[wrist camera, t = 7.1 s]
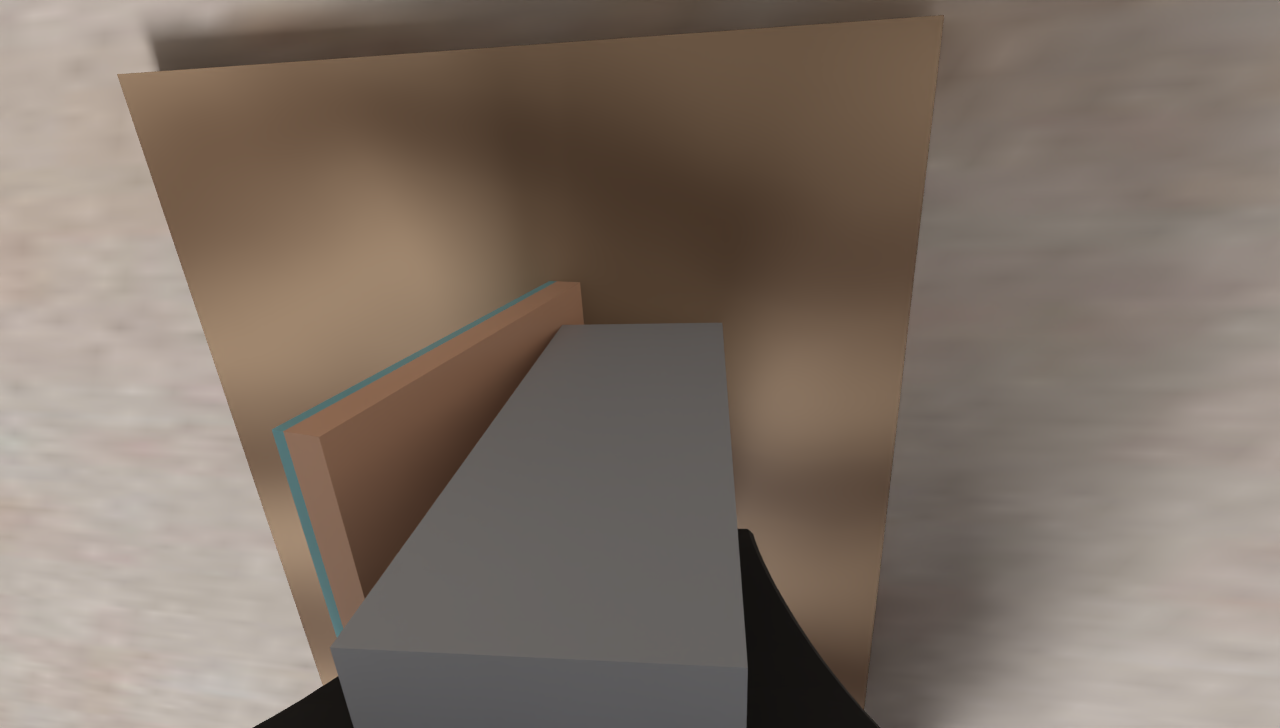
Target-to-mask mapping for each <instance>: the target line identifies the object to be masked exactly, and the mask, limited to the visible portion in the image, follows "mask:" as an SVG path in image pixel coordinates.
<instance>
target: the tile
mask: <svg viewBox="0 0 1280 728" xmlns="http://www.w3.org/2000/svg"><path fill="white" fill-rule="evenodd" d="M562 325H584V319H583V308H582V297H581V286H580V282H562V281H548V282H547V283H545V284H543V285H541V286H539V287H537V288H535V289H533V290H532V291H530V292H528V293H526V294H524V295H522V296H520V297H519V298H517V299H515V300H513V301H511V302H509V303H507V304H505V305H504V306H502V307H500V308H498V309H496V310H494V311H492V312H490V313H489V314H487V315H485V316H483V317H481V318H479V319H477V320H476V321H474V322H472V323H470V324H468V325H466V326H464V327H462V328H461V329H459V330H457V331H455V332H453V333H451V334H449V335H447V336H446V337H444V338H442V339H440V340H438V341H436V342H434V343H433V344H431V345H429V346H427V347H425V348H423V349H421V350H419V351H418V352H416V353H414V354H412V355H410V356H408V357H406V358H404V359H403V360H401V361H399V362H397V363H395V364H393V365H391V366H390V367H388V368H386V369H384V370H382V371H380V372H378V373H376V374H375V375H373V376H371V377H369V378H367V379H365V380H363V381H361V382H360V383H358V384H356V385H354V386H352V387H350V388H348V389H347V390H345V391H343V392H341V393H339V394H337V395H335V396H333V397H332V398H330V399H328V400H326V401H324V402H322V403H320V404H318V405H317V406H315V407H313V408H311V409H309V410H307V411H305V412H304V413H302V414H300V415H298V416H296V417H294V418H292V419H290V420H289V421H287V422H285V423H283V424H281V425H279V426H277V427H275V428H274V429H272V433H273V436H274V439H275V442H276V445H277V448H278V452H279V455H280V458H281V461H282V464H283V468H284V471H285V474H286V477H287V480H288V484H289V487H290V490H291V493H292V496H293V500H294V503H295V506H296V509H297V512H298V516H299V519H300V522H301V525H302V528H303V532H304V535H305V538H306V541H307V544H308V548H309V551H310V554H311V557H312V560H313V564H314V567H315V570H316V573H317V576H318V579H319V583H320V586H321V589H322V592H323V595H324V599H325V602H326V605H327V608H328V611H329V615H330V618H331V621H332V624H333V627H334V631H335V634H336V637H338V636H339V634H340V633H341V631H342V630H343V629H344V627H345V626H346V625H347V623H348V622H349V620H350V619H351V618H352V616H353V615H354V613H355V612H356V611H357V609H358V608H359V606H360V605H361V604H362V602H363V601H364V600H365V598H366V597H367V595H368V594H369V593H370V591H371V590H372V588H373V587H374V586H375V584H376V583H377V581H378V580H379V579H380V577H381V576H382V575H383V573H384V572H385V570H386V569H387V568H388V566H389V565H390V563H391V562H392V561H393V559H394V558H395V556H396V555H397V554H398V552H399V551H400V550H401V548H402V547H403V545H404V544H405V543H406V541H407V540H408V538H409V537H410V536H411V534H412V533H413V531H414V530H415V529H416V527H417V526H418V525H419V523H420V522H421V520H422V519H423V518H424V516H425V515H426V513H427V512H428V511H429V509H430V508H431V506H432V505H433V504H434V502H435V501H436V500H437V498H438V497H439V495H440V494H441V493H442V491H443V490H444V488H445V487H446V486H447V484H448V483H449V481H450V480H451V479H452V477H453V476H454V475H455V473H456V472H457V470H458V469H459V468H460V466H461V465H462V463H463V462H464V461H465V459H466V458H467V456H468V455H469V454H470V452H471V451H472V450H473V448H474V447H475V445H476V444H477V443H478V441H479V440H480V438H481V437H482V436H483V434H484V433H485V431H486V430H487V429H488V427H489V426H490V425H491V423H492V422H493V420H494V419H495V418H496V416H497V415H498V413H499V412H500V411H501V409H502V408H503V406H504V405H505V404H506V402H507V401H508V400H509V398H510V397H511V395H512V394H513V393H514V391H515V390H516V388H517V387H518V386H519V384H520V383H521V381H522V380H523V379H524V377H525V376H526V375H527V373H528V372H529V370H530V369H531V368H532V366H533V365H534V363H535V362H536V361H537V359H538V358H539V356H540V355H541V354H542V352H543V351H544V350H545V348H546V347H547V345H548V344H549V343H550V341H551V340H552V338H553V337H554V336H555V334H556V333H557V331H558V330H559V329H560V327H561V326H562Z"/></svg>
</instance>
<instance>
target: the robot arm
mask: <svg viewBox="0 0 1280 728" xmlns="http://www.w3.org/2000/svg"><path fill="white" fill-rule="evenodd" d="M738 542H739V556H740V569H741V583H742V596H743V610H744V623H745V637H746V650H747V664H748V682H747V727H746V728H880V727H879V726H878V725H877V724H876V723H875V722H874V721H873V720H872V719H871V718H870V717H869V715H868V714H867V713H866V712H865V711H864V710H863V709H862V707H861V706H860V705H859V704H858V703H857V701H856V700H855V699H854V698H853V697H852V695H851V694H850V693H849V692H848V691H847V690H846V688H845V687H844V686H843V685H842V683H841V682H840V681H839V679H838V678H837V677H836V676H835V674H834V673H833V672H832V671H831V669H830V668H829V667H828V665H827V664H826V663H825V661H824V660H823V659H822V657H821V656H820V654H819V653H818V652H817V650H816V649H815V647H814V646H813V644H812V643H811V642H810V640H809V639H808V637H807V636H806V634H805V633H804V631H803V630H802V628H801V627H800V625H799V623H798V622H797V620H796V619H795V617H794V615H793V614H792V612H791V611H790V609H789V607H788V605H787V604H786V602H785V600H784V599H783V597H782V595H781V593H780V592H779V590H778V588H777V586H776V584H775V583H774V581H773V579H772V577H771V575H770V573H769V571H768V569H767V567H766V565H765V563H764V561H763V558H762V556H761V554H760V551H759V549H758V546H757V544H756V541H755V538H754V534H753V533H752V532H751V531H750V530H749V529H738ZM253 728H354V727H353V723H352V720H351V717H350V713H349V710H348V707H347V703H346V700H345V697H344V693H343V690H342V687H341V683H340V680H339V677H338V676H337V677H336V678H334V679H333V680H331V681H330V682H328V683H327V684H325V685H324V686H322V687H321V688H319V689H317V690H316V691H314V692H313V693H311V694H310V695H308V696H307V697H305V698H304V699H302V700H300V701H299V702H297V703H295V704H294V705H292V706H290V707H288V708H287V709H285V710H283V711H282V712H280V713H278V714H276V715H275V716H273V717H271V718H269V719H268V720H266V721H264V722H262V723H260V724H259V725H257V726H255V727H253Z"/></svg>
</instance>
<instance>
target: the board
mask: <svg viewBox="0 0 1280 728" xmlns="http://www.w3.org/2000/svg"><path fill="white" fill-rule="evenodd" d="M943 21H944V15H938V16H924V17H910V18H896V19H882V20H868V21H854V22H840V23H826V24H812V25H799V26H785V27H771V28H757V29H743V30H729V31H715V32H701V33H687V34H673V35H659V36H645V37H631V38H617V39H603V40H590V41H576V42H562V43H548V44H534V45H520V46H506V47H492V48H478V49H464V50H450V51H436V52H422V53H408V54H394V55H380V56H367V57H353V58H339V59H325V60H311V61H297V62H283V63H269V64H255V65H241V66H227V67H213V68H199V69H185V70H171V71H157V72H144V73H130V74H117V75H118V78H119V81H120V84H121V87H122V90H123V93H124V96H125V99H126V102H127V105H128V108H129V111H130V114H131V117H132V120H133V123H134V126H135V129H136V132H137V135H138V138H139V141H140V144H141V147H142V150H143V153H144V156H145V158H146V161H147V164H148V167H149V170H150V173H151V176H152V179H153V182H154V185H155V188H156V191H157V194H158V197H159V200H160V203H161V206H162V209H163V212H164V215H165V218H166V221H167V224H168V227H169V230H170V233H171V236H172V239H173V242H174V245H175V248H176V251H177V253H178V256H179V259H180V262H181V265H182V268H183V271H184V274H185V277H186V280H187V283H188V286H189V289H190V292H191V295H192V298H193V301H194V304H195V307H196V310H197V313H198V316H199V319H200V322H201V325H202V328H203V331H204V334H205V337H206V340H207V343H208V346H209V348H210V351H211V354H212V357H213V360H214V363H215V366H216V369H217V372H218V375H219V378H220V381H221V384H222V387H223V390H224V393H225V396H226V399H227V402H228V405H229V408H230V411H231V414H232V417H233V420H234V423H235V426H236V429H237V432H238V435H239V438H240V441H241V443H242V446H243V449H244V452H245V455H246V458H247V461H248V464H249V467H250V470H251V473H252V476H253V479H254V482H255V485H256V488H257V491H258V494H259V497H260V500H261V503H262V506H263V509H264V512H265V515H266V518H267V521H268V524H269V527H270V530H271V533H272V536H273V539H274V541H275V544H276V547H277V550H278V553H279V556H280V559H281V562H282V565H283V568H284V571H285V574H286V577H287V580H288V583H289V586H290V589H291V592H292V595H293V598H294V601H295V604H296V607H297V610H298V613H299V616H300V619H301V622H302V625H303V628H304V631H305V634H306V636H307V639H308V642H309V645H310V648H311V651H312V654H313V657H314V660H315V663H316V666H317V669H318V672H319V675H320V678H321V681H322V684H323V686H324V685H325V684H327V683H328V682H330V681H331V680H333V679H334V678H336V677H337V676H338V673H337V670H336V667H335V663H334V660H333V657H332V653H331V650H330V647H331V645H332V644H333V643H334V641H335V640H336V638H337V637H336V634H335V631H334V627H333V624H332V621H331V618H330V615H329V611H328V608H327V605H326V602H325V599H324V595H323V592H322V589H321V586H320V583H319V579H318V576H317V573H316V570H315V567H314V564H313V560H312V557H311V554H310V551H309V548H308V544H307V541H306V538H305V535H304V532H303V528H302V525H301V522H300V519H299V516H298V512H297V509H296V506H295V503H294V500H293V496H292V493H291V490H290V487H289V484H288V480H287V477H286V474H285V471H284V468H283V464H282V461H281V458H280V455H279V452H278V448H277V445H276V442H275V439H274V436H273V433H272V429H274V428H275V427H277V426H279V425H281V424H283V423H285V422H287V421H289V420H290V419H292V418H294V417H296V416H298V415H300V414H302V413H304V412H305V411H307V410H309V409H311V408H313V407H315V406H317V405H318V404H320V403H322V402H324V401H326V400H328V399H330V398H332V397H333V396H335V395H337V394H339V393H341V392H343V391H345V390H347V389H348V388H350V387H352V386H354V385H356V384H358V383H360V382H361V381H363V380H365V379H367V378H369V377H371V376H373V375H375V374H376V373H378V372H380V371H382V370H384V369H386V368H388V367H390V366H391V365H393V364H395V363H397V362H399V361H401V360H403V359H404V358H406V357H408V356H410V355H412V354H414V353H416V352H418V351H419V350H421V349H423V348H425V347H427V346H429V345H431V344H433V343H434V342H436V341H438V340H440V339H442V338H444V337H446V336H447V335H449V334H451V333H453V332H455V331H457V330H459V329H461V328H462V327H464V326H466V325H468V324H470V323H472V322H474V321H476V320H477V319H479V318H481V317H483V316H485V315H487V314H489V313H490V312H492V311H494V310H496V309H498V308H500V307H502V306H504V305H505V304H507V303H509V302H511V301H513V300H515V299H517V298H519V297H520V296H522V295H524V294H526V293H528V292H530V291H532V290H533V289H535V288H537V287H539V286H541V285H543V284H545V283H547V282H548V281H562V282H580V286H581V297H582V308H583V319H584V325H591V324H663V323H722V326H723V339H724V353H725V366H726V380H727V393H728V407H729V421H730V434H731V448H732V461H733V475H734V488H735V502H736V515H737V529H749V530H750V531H751V532H752V533H753V534H754V538H755V541H756V544H757V546H758V549H759V551H760V554H761V556H762V558H763V561H764V563H765V565H766V567H767V569H768V571H769V573H770V575H771V577H772V579H773V581H774V583H775V584H776V586H777V588H778V590H779V592H780V593H781V595H782V597H783V599H784V600H785V602H786V604H787V605H788V607H789V609H790V611H791V612H792V614H793V615H794V617H795V619H796V620H797V622H798V623H799V625H800V627H801V628H802V630H803V631H804V633H805V634H806V636H807V637H808V639H809V640H810V642H811V643H812V644H813V646H814V647H815V649H816V650H817V652H818V653H819V654H820V656H821V657H822V659H823V660H824V661H825V663H826V664H827V665H828V667H829V668H830V669H831V671H832V672H833V673H834V674H835V676H836V677H837V678H838V679H839V681H840V682H841V683H842V685H843V686H844V687H845V688H846V690H847V691H848V692H849V693H850V694H851V695H852V697H853V698H854V699H855V700H856V701H857V703H858V704H859V705H860V706H861V707H862V709H863V710H864V705H865V696H866V687H867V679H868V670H869V661H870V653H871V644H872V635H873V627H874V618H875V610H876V601H877V592H878V584H879V575H880V566H881V558H882V549H883V540H884V532H885V523H886V514H887V506H888V497H889V488H890V480H891V471H892V462H893V454H894V445H895V436H896V428H897V419H898V410H899V402H900V393H901V384H902V376H903V367H904V358H905V350H906V341H907V332H908V324H909V315H910V307H911V298H912V289H913V281H914V272H915V263H916V255H917V246H918V237H919V229H920V220H921V211H922V203H923V194H924V185H925V177H926V168H927V159H928V151H929V142H930V133H931V125H932V116H933V107H934V99H935V90H936V81H937V73H938V64H939V55H940V47H941V38H942V29H943Z"/></svg>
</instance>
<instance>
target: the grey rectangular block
mask: <svg viewBox="0 0 1280 728" xmlns="http://www.w3.org/2000/svg"><path fill="white" fill-rule="evenodd" d="M330 650H331V653H332V657H333V660H334V663H335V667H336V670H337V673H338V677H339V680H340V683H341V687H342V690H343V693H344V697H345V700H346V703H347V707H348V710H349V713H350V717H351V720H352V723H353V727H354V728H746V727H747V682H748V664H747V650H746V637H745V623H744V610H743V596H742V583H741V569H740V556H739V542H738V529H737V515H736V502H735V488H734V475H733V461H732V448H731V434H730V421H729V407H728V393H727V380H726V366H725V353H724V339H723V326H722V323H663V324H591V325H562V326H561V327H560V329H559V330H558V331H557V333H556V334H555V336H554V337H553V338H552V340H551V341H550V343H549V344H548V345H547V347H546V348H545V350H544V351H543V352H542V354H541V355H540V356H539V358H538V359H537V361H536V362H535V363H534V365H533V366H532V368H531V369H530V370H529V372H528V373H527V375H526V376H525V377H524V379H523V380H522V381H521V383H520V384H519V386H518V387H517V388H516V390H515V391H514V393H513V394H512V395H511V397H510V398H509V400H508V401H507V402H506V404H505V405H504V406H503V408H502V409H501V411H500V412H499V413H498V415H497V416H496V418H495V419H494V420H493V422H492V423H491V425H490V426H489V427H488V429H487V430H486V431H485V433H484V434H483V436H482V437H481V438H480V440H479V441H478V443H477V444H476V445H475V447H474V448H473V450H472V451H471V452H470V454H469V455H468V456H467V458H466V459H465V461H464V462H463V463H462V465H461V466H460V468H459V469H458V470H457V472H456V473H455V475H454V476H453V477H452V479H451V480H450V481H449V483H448V484H447V486H446V487H445V488H444V490H443V491H442V493H441V494H440V495H439V497H438V498H437V500H436V501H435V502H434V504H433V505H432V506H431V508H430V509H429V511H428V512H427V513H426V515H425V516H424V518H423V519H422V520H421V522H420V523H419V525H418V526H417V527H416V529H415V530H414V531H413V533H412V534H411V536H410V537H409V538H408V540H407V541H406V543H405V544H404V545H403V547H402V548H401V550H400V551H399V552H398V554H397V555H396V556H395V558H394V559H393V561H392V562H391V563H390V565H389V566H388V568H387V569H386V570H385V572H384V573H383V575H382V576H381V577H380V579H379V580H378V581H377V583H376V584H375V586H374V587H373V588H372V590H371V591H370V593H369V594H368V595H367V597H366V598H365V600H364V601H363V602H362V604H361V605H360V606H359V608H358V609H357V611H356V612H355V613H354V615H353V616H352V618H351V619H350V620H349V622H348V623H347V625H346V626H345V627H344V629H343V630H342V631H341V633H340V634H339V636H338V637H337V638H336V640H335V641H334V643H333V644H332V645H331V647H330Z"/></svg>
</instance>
